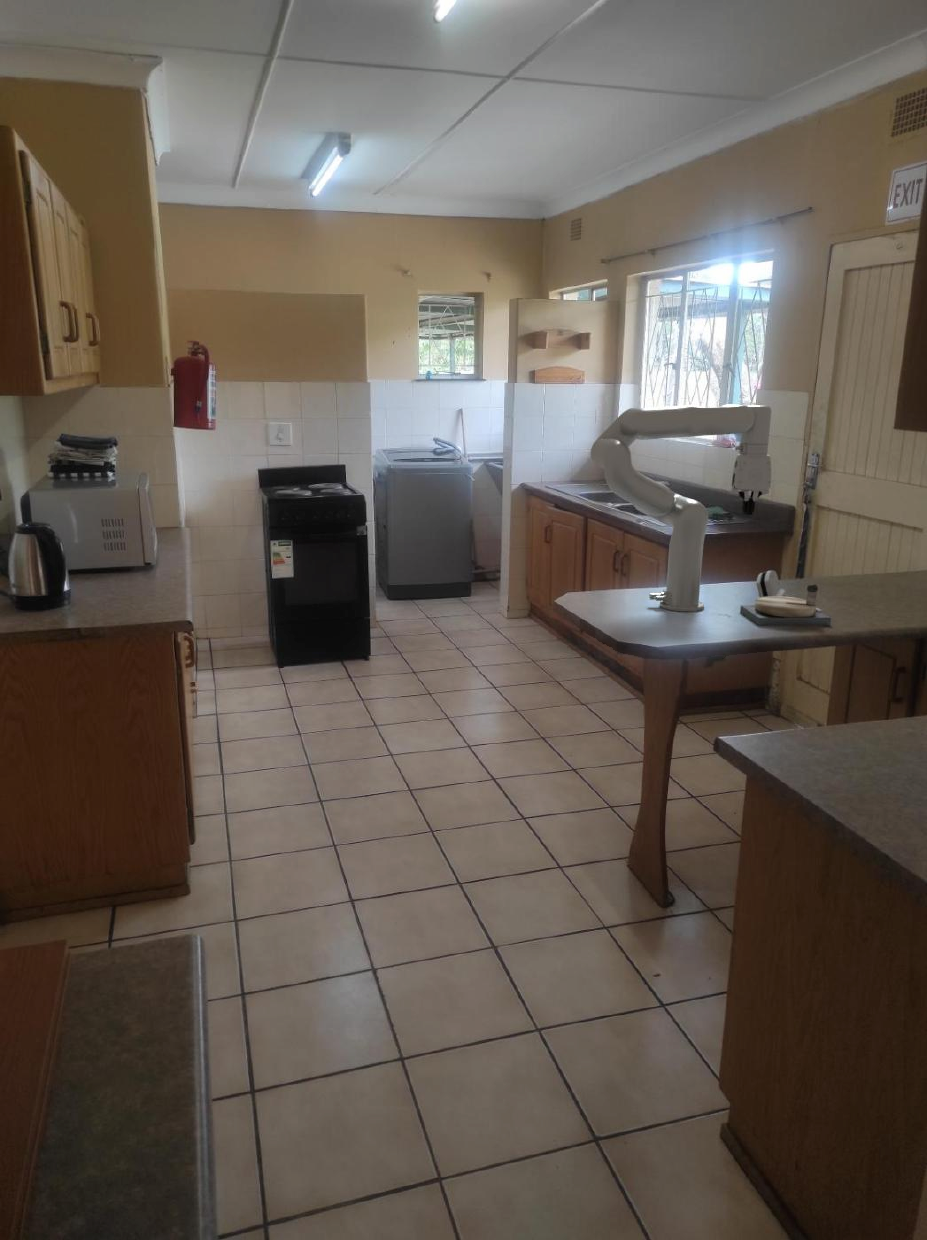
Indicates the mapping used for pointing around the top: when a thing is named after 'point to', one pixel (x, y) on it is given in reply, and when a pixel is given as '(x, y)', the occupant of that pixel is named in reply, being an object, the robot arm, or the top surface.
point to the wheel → (789, 604)
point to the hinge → (769, 585)
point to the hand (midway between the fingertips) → (747, 514)
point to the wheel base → (783, 618)
